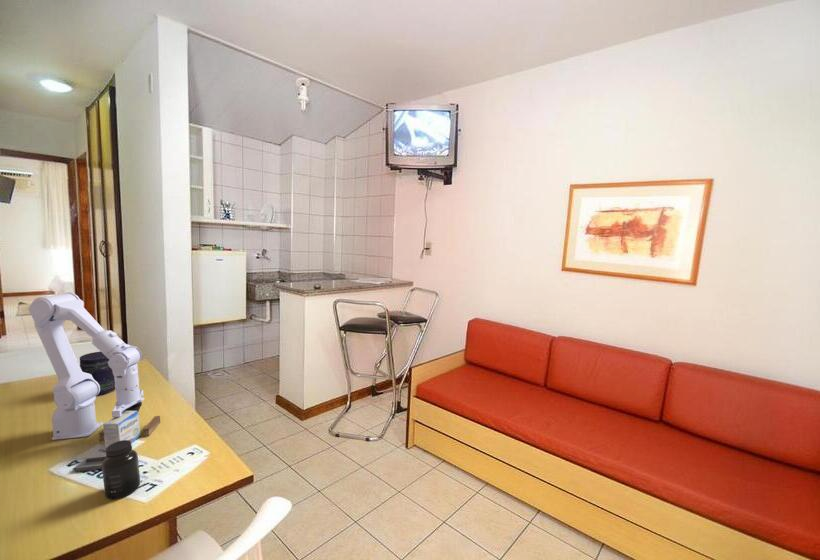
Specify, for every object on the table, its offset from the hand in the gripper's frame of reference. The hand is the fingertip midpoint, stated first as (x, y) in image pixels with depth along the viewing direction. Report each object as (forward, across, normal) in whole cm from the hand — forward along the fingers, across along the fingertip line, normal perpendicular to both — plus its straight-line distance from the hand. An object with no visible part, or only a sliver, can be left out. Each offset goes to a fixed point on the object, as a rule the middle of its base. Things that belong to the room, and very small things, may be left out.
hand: (130, 427), depth 111 cm
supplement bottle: (+2, -28, -11) cm, 31 cm away
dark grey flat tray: (+2, -16, 0) cm, 16 cm away
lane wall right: (+2, 0, -6) cm, 6 cm away
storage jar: (+2, +35, +26) cm, 43 cm away
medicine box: (+2, -7, -1) cm, 7 cm away
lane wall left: (+2, 0, +6) cm, 6 cm away
